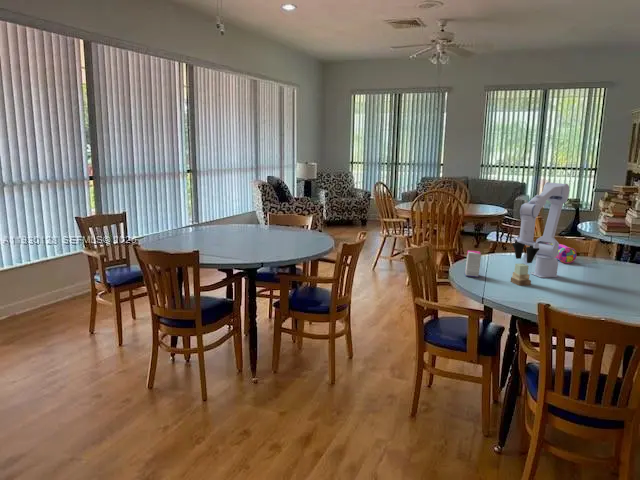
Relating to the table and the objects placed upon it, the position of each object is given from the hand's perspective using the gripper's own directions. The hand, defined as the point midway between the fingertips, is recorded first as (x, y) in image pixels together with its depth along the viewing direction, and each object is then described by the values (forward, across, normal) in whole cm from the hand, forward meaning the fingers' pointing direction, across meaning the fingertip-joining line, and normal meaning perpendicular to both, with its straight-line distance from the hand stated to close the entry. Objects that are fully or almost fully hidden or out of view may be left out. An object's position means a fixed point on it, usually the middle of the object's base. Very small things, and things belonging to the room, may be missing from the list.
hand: (523, 260), depth 220 cm
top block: (+6, +1, -1) cm, 6 cm away
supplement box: (+10, -14, -16) cm, 24 cm away
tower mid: (+8, 0, -1) cm, 8 cm away
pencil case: (+11, -37, +51) cm, 64 cm away
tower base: (+11, +1, -1) cm, 11 cm away
